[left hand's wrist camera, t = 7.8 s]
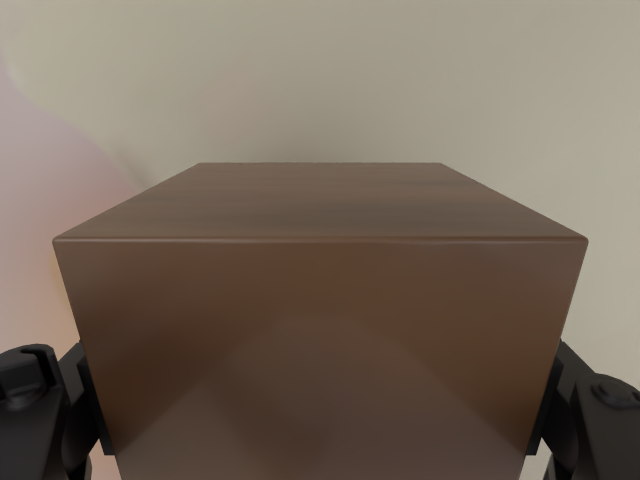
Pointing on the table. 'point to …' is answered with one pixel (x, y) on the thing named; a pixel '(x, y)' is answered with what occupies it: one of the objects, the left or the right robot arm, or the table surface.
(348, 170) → the thick board
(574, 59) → the table surface
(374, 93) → the table surface
